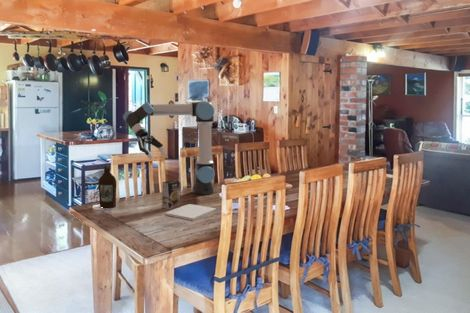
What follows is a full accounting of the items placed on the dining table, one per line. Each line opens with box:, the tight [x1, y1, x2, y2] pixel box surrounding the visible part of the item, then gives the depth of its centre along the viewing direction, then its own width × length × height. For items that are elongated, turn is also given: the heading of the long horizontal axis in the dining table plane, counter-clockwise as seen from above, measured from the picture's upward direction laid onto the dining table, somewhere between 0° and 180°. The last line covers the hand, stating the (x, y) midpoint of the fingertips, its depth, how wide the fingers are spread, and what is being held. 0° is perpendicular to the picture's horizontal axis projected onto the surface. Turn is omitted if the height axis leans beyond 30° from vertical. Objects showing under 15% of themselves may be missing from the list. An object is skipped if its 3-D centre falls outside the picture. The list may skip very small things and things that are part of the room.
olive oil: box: [97, 165, 117, 209], centre depth 258 cm, size 11×11×25 cm
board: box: [164, 203, 217, 221], centre depth 251 cm, size 24×20×1 cm
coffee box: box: [161, 179, 181, 210], centre depth 261 cm, size 9×6×16 cm
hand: (158, 157), depth 267 cm, fingers open, 13 cm apart
